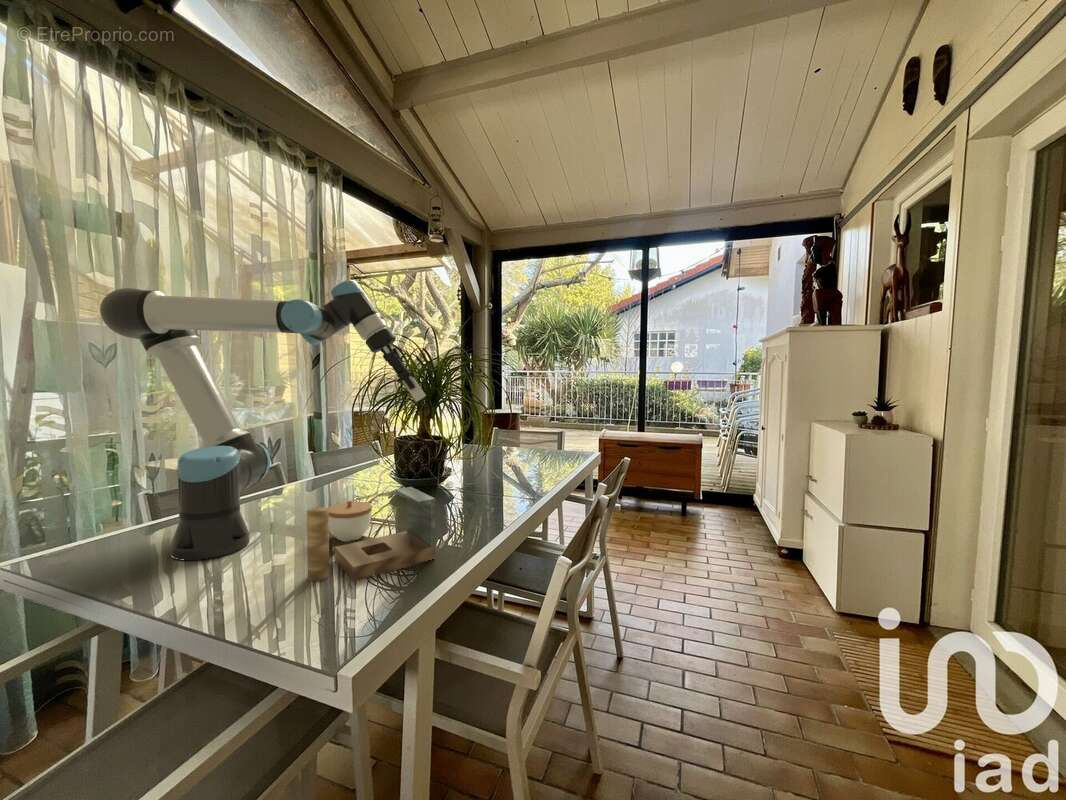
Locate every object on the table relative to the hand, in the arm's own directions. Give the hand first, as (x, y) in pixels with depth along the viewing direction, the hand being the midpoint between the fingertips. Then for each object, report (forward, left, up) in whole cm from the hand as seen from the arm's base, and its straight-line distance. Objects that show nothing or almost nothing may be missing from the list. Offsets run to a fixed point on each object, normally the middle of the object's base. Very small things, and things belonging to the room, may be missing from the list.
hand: (421, 398), depth 123 cm
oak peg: (-32, -18, -35) cm, 51 cm away
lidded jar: (-20, +1, -35) cm, 40 cm away
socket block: (-18, -18, -35) cm, 43 cm away
